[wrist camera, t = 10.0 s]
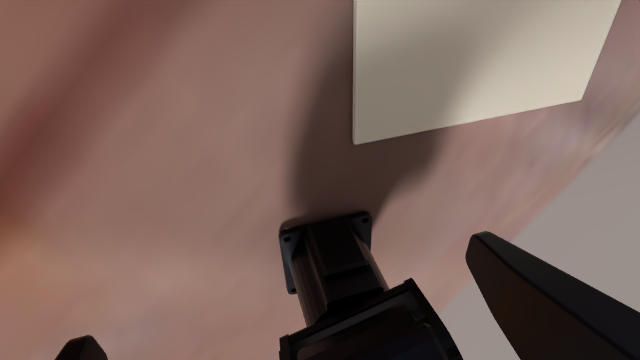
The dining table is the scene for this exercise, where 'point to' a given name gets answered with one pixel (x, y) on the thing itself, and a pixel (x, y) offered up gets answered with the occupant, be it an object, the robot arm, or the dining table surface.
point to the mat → (469, 60)
